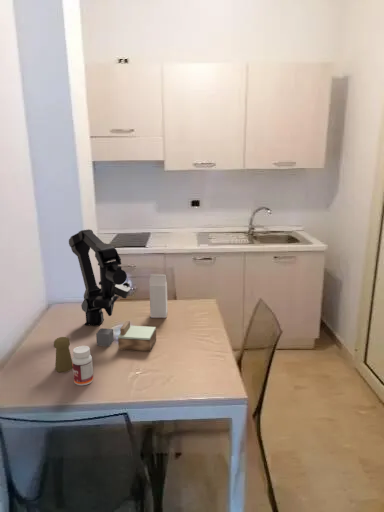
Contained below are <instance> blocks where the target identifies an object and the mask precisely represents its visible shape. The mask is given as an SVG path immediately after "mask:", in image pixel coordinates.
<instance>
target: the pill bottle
mask: <svg viewBox="0 0 384 512" xmlns="http://www.w3.org/2000/svg"><path fill="white" fill-rule="evenodd" d="M90 349H91V348H90V347H89V346H88V345H80V346H76V347H74V348H73V349H72V355H73V356H72V358H71V359H72V365H73V369H72V375H73V377H72V378H73V383H74V384H75V385H76V386H87V385H89V384H91V383H92V382H93V381H94V368H93V357H92V355H91V350H90Z"/></svg>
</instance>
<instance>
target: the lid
mask: <svg viewBox="0 0 384 512" xmlns="http://www.w3.org/2000/svg"><path fill="white" fill-rule="evenodd" d="M155 329H156V330H157V327H156V326H147V325H146V326H143V325H131V321H130V320H129V321H128V320H125V322H124V323H123V324H122V326H121V327H120V329H119V330H120V331H119V334H118V336H117V339H118V338H123V339H140V340H150V338H151V337H152V335H153V333H154V331H155Z"/></svg>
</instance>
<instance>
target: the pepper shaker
mask: <svg viewBox="0 0 384 512" xmlns="http://www.w3.org/2000/svg"><path fill="white" fill-rule="evenodd" d="M70 344H71V340H70V338H68V337H66V336H60V337H59V336H58V337H57V338H56V339H54V342H53V347H54V348H55V365H54V366H55V368H54V370H55V372H57V373H68V372H70V371H73V365H72V359H73V358H72V355H71V352H70V351H71V350H70V348H69V347H70Z"/></svg>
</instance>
